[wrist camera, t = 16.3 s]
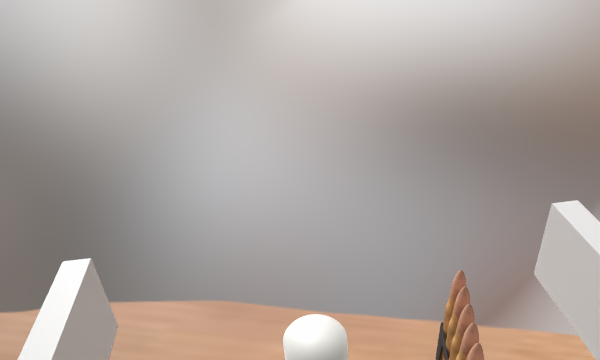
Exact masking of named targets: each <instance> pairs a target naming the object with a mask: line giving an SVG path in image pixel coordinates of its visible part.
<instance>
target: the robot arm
mask: <svg viewBox="0 0 600 360" xmlns="http://www.w3.org/2000/svg"><path fill="white" fill-rule="evenodd" d="M534 275H535V276H536V277H537V279H538V280H539V282H540V283H541V284H542V286H543V287H544V289H545V290H546V291H547V293H548V294H549V295H550V297H551V298H552V300H553V301H554V302H555V304H556V305H557V306H558V308H559V309H560V311H561V312H562V313H563V315H564V316H565V317H566V319H567V320H568V322H569V323H570V324H571V326H572V327H573V329H574V330H575V331H576V333H577V334H578V336H579V337H580V338H581V340H582V341H583V342H584V344H585V345H586V347H587V348H588V349H589V351H590V352H591V354H592V355H593V356H594V358H595V359H596V360H600V222H599V221H598V220H597V219H596V218H595V217H594V216H593V215H592V214H591V213H590V212H589V211H588V210H587V209H586V208H585V207H584V206H583V205H582V204H580V202H578V201H568V202H560V203H552V205H551V209H550V213H549V216H548V220H547V224H546V228H545V232H544V236H543V240H542V243H541V247H540V251H539V256H538V259H537V263H536V267H535V271H534ZM117 328H118V324H117V322H116V319H115V317H114V314H113V312H112V309H111V307H110V304H109V302H108V299H107V297H106V294H105V292H104V289H103V287H102V285H101V282H100V280H99V277H98V275H97V272H96V270H95V267H94V265H93V262H92V260H91V258H89V259H81V260H72V261H64V262H62V264H61V267H60V269H59V271H58V273H57V275H56V277H55V280H54V282H53V284H52V286H51V288H50V291H49V293H48V295H47V297H46V300H45V301H44V304H43V306H42V308H41V310H40V312H39V314H38V317H37V319H36V321H35V323H34V325H33V328H32V330H31V332H30V334H29V336H28V338H27V341H26V343H25V345H24V347H23V349H22V352H21V354H20V356H19V358H18V360H109V358H110V354H111V350H112V347H113V343H114V339H115V336H116V332H117Z"/></svg>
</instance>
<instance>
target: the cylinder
mask: <svg viewBox="0 0 600 360" xmlns="http://www.w3.org/2000/svg"><path fill="white" fill-rule="evenodd" d="M283 345H284V353H285V360H348V350H347V334H346V331H345V329H344V328H343V326H342V325H341V324H340V323H339V322H338V321H336V320H335V319H333V318H331V317H329V316H325V315H319V314H313V315H307V316H303V317H301V318H299V319H297V320H295V321H294V322H293V323H292V324H291V325H290V326H289V327H288V328H287V330H286V332H285V334H284V338H283Z"/></svg>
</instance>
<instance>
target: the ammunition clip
mask: <svg viewBox="0 0 600 360" xmlns="http://www.w3.org/2000/svg"><path fill="white" fill-rule="evenodd" d="M436 360H484V355H483V349H482V346H481V345H480V343H479V334H478V329H477V326H476V324H475V323H474V312H473V308H472V306H471V305H470V296H469V291H468V289H467V287H466V279H465V275H464V272H463V271H462V270H460V271H459V272H458V273H457V275H456V276H455V278H454V281H453V284H452V287H451V293H450V296H449V301H448V303H447V305H446V310H445V317H444V323H441V326H440V333H439V340H438V346H437V353H436Z"/></svg>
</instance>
